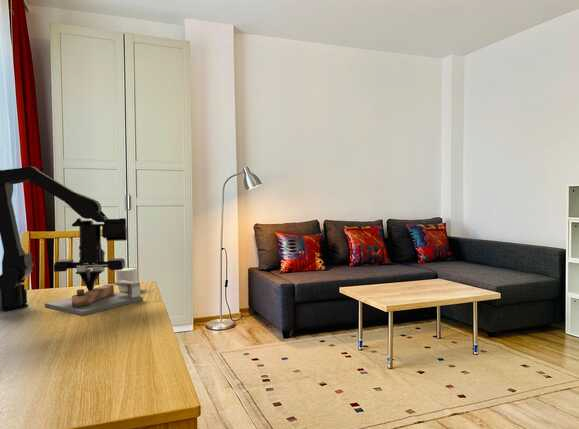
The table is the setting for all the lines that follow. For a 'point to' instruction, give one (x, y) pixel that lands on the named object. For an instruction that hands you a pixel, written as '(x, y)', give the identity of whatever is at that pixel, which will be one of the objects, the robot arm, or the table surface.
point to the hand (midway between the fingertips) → (91, 293)
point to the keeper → (130, 287)
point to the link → (91, 295)
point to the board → (93, 304)
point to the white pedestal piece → (126, 276)
